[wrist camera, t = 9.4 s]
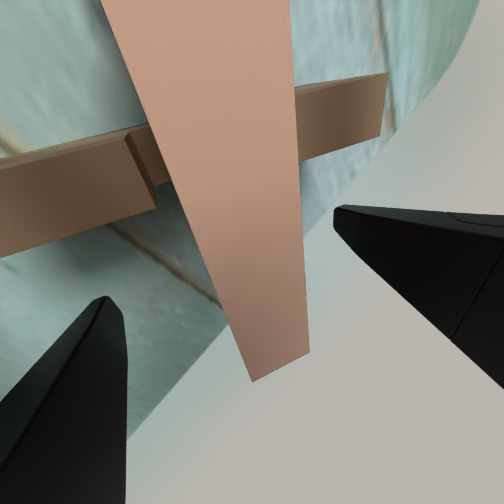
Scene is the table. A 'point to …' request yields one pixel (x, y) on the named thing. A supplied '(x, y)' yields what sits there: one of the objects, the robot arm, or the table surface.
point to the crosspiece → (229, 153)
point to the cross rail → (153, 165)
